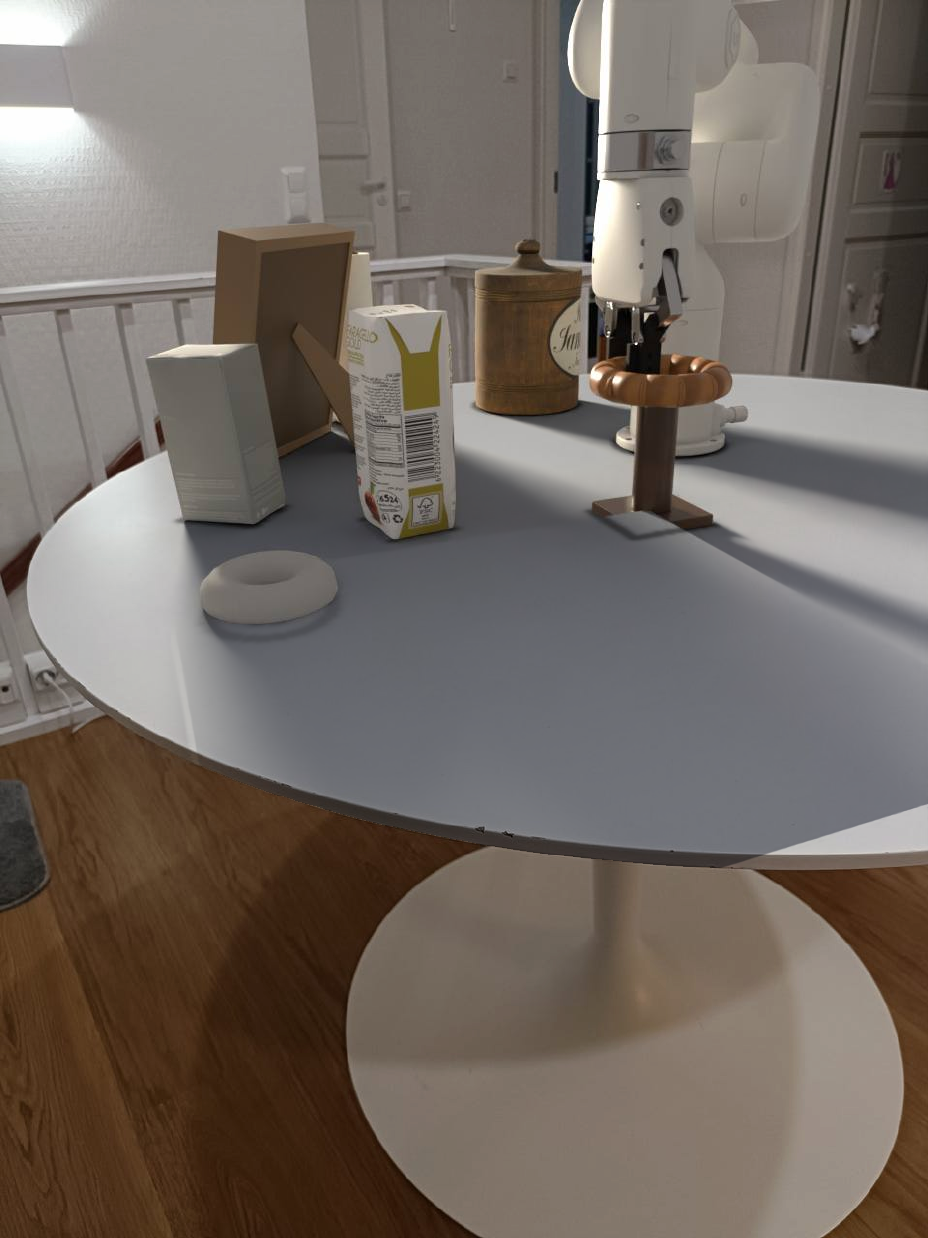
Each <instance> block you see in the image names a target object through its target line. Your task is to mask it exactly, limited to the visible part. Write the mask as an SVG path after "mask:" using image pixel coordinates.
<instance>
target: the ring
mask: <svg viewBox="0 0 928 1238" xmlns="http://www.w3.org/2000/svg"><path fill="white" fill-rule="evenodd" d="M626 359H627V356H620V357H615V358H612V359H608V360H606V359H604V360H602V361H599V362H597V363H596V364H594V366H593V367H592V369H591V371H590V374H589V383H588V385H589V388H590V391H591V392H592V393H593V395H595V396H597V397H599V398H601V399H604V400H606V401H609V402H611V403H613V404H619V405H626V406H631V405H632V406H639V407H665V408H678V407H687V406H695V405H704V404H708V403H710V402H713V401H715V402H716V401H718V400H720V399H722V398H724V397H726V396H727V395H728V394H729V393H730V391H731V390H732V388H733V383H734V382H733V381H734V380H733V375H731V372H730V371H729V369H728V367H727V366H726V365H725V364H724V363H722V362H721V361H718V362H717V361H713V360H709V359H706V358H702V357H694V356H684V355H675V354H661V363H660V375H647V374H638V373H630V372H626Z"/></svg>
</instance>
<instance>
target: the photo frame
mask: <svg viewBox="0 0 928 1238" xmlns="http://www.w3.org/2000/svg"><path fill="white" fill-rule="evenodd" d="M355 235H356V231H355V230H352V229H349V228H345V227H341V226H337V225H333V224H329V223H325V222H313V223H312V222H311V223H310V222H309V223H296V224H285V225H270V226H257V227H256V226H255V227H243V228H230V229H219V230H217V241H216V242H217V243H216V244H217V245H216V263H215V264H216V266H215V285H214V287H215V288H214V304H213V305H214V306H213V308H214V309H213V325H212V326H213V327H212V345H230V344H258V350H259V355H260V360H261V366H262V371H263V377H264V382H265V388H266V393H267V399H268V404H269V410H270V415H271V420H272V426H273V432H274V437H275V442H276V448H277V453H278V459H279V458H281V457H282V456H285V455H287V454H288V453H290V452H293V451H295V450H296V449H298V448H300V447H302V446H304V445H306V444H308V443H310V442H312V441H314V440H316V439H317V438H320V437H322V436H323V435H325V434H329V432H331V431H332V425H333V419H334V418H333V411H334V413H335V415H336V416H337V418H338V420H339V421H340V422H339V423H340V425H341V426H342V428H343V430H344V432H345V434H346V435H347V437H348V439H349V441H350V442H351V444H352V446H353V447H354V448H355V438H354V426H353V414H352V401H351V389H350V377H349V373H348V372H347V371H346V370H345V369H344V368H343V367H342V366H341V365H340V364H339V360H340V352H341V344H342V335H343V327H344V319H345V311H346V302H347V294H348V286H349V277H350V269H351V261H352V252H353V251H354V243H355Z"/></svg>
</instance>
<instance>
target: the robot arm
mask: <svg viewBox="0 0 928 1238" xmlns="http://www.w3.org/2000/svg"><path fill="white" fill-rule="evenodd" d="M775 1H779V0H580V1H579V3H578V5H577V8H576V12H575V13H574V17H573V21H572V24H571V27H570V31H569V37H568V43H567V62H568V69H569V74H570V77H571V80H572V83H573V84H574V86H575V88H576V89H577V90H578V91H579V92H580V93H581V94H582V95H583V96H585V97H587V98H589V99H593V100H599V118H598V119H599V121H598V122H599V123H598V143H597V175H596V176H597V177H596V180H597V181H599V188H598V193H597V201H596V208H595V218H594V227H593V239H592V240H593V241H592V256H591V285H592V286H591V288H592V291H593V293H594V294H595V295H594V301H595V304H596V305H597V307H598V308H599V309H600V311H601V314H602V316H603V320H604V329H603V331H604V336H605V337H606V350H605V351H606V352H605V360H608V359H612V358H615V357H620V356H627V359H626V372H630V373H638V374H647V375H660V363H661V354H675V355H684V356H694V357H702V358H706V359H709V360H713V361H717V362H719V360H720V359H719V358H720V348H721V337H722V327H723V326H722V325H723V316H724V307H725V296H726V291H725V290H726V289H725V283H724V278H723V276H722V274H721V272H720V270H719V268H718V267H717V265H716V264H715V262H714V261H713V259H712V258H711V257H710V256H709V254H708V252H707V251H706V249H705V247H704V246H705V245H709V244H717V243H718V244H719V243H720V244H721V243H766V242H776V241H780V240H783V239H785V238H786V237H788V236H790V235H791V234H792V233H793V232H794V231H795V229H796V228H797V226H798V224H799V223H800V220H801V217H802V215H803V211H804V208H805V204H806V199H807V194H808V189H809V182H810V177H811V170H812V164H813V158H814V154H815V153H814V152H815V146H816V139H817V135H818V133H817V132H818V127H819V121H820V111H821V110H820V109H821V108H820V107H821V90H820V84H819V79H818V77H817V75H816V72H815V71H814V69H812V68H811V67H810V66H809V65H806V64H804V63H801V62H795V61H783V62H770V63H768V62H767V63H758V62H759V54H760V53H759V47H758V43H757V41H756V39H755V37H754V35H753V34H752V32H751V31H750V29H749V28H748V26H747V25H746V24H745V23H744V22H743V20H742V19H741V18H740V14H739V12H738V10H736V8H735V6H738V5H747V4H758V3H767V2H775ZM748 417H749V409H748V407H747V406H745V405H737V406H730V407H727V408H726V406H725V405H724V404H720V403H716V400H715V401H713V402H710V403H708V404H704V405H695V406H687V407H679V414H678V427H677V440H676V452H675V457H690V456H691V457H692V456H700V455H705V454H710V453H713V452H717V451H718V450H721V449H722V448H723V447H724V445H725V434H724V433H723V432H722V431H721V430H720V429H721V428H722V427H725V425H726V424H738V423H744V422H746V421H747V420H748ZM636 418H637V406H632V405H630V420H629V425H627V426H623V427H621V428H620V429H618V430H617V432H616V435H615V442H616V444H617V445H618V446H619V447H621V448H622V449H624V450H627V451H630V452H634V453H635V435H636Z"/></svg>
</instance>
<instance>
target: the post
mask: <svg viewBox="0 0 928 1238" xmlns="http://www.w3.org/2000/svg"><path fill="white" fill-rule="evenodd" d="M678 414H679V407H678V408H665V407H639V406H637V418H636V435H635V452H634V454H633V469H632V470H633V474H632V486H631V487H632V489H631V495H625V496H618V497H613V498H612V497H611V498H606V499H599V500H592V501H591V512H593V513H594V514H595V515H597V516H599V517H600V518H604V517H605V518H606V517H612V516H618V515H624V514H631V513H636V512H637V513H638V512H642V511H643V512H651V513H652V514H654V515H656V516H658V517H660V518H661V519H663V520H664V521H667V522H668V523H671V524H673V525H674V526H676V527H678V528H679V529H681V530H690V529H697V528H701V527H702V528H703V527H708V526H713V522H714V514H713V513H712V512H709V511H707V510H705V509H703V508H701V507H699V506H697V505H695V504H693V503H692V502H689V501H687V500H685V499H684V498H682V497H679V496H677V495H676V494H673V489H674V477H675V465H676V456H675V452H676V440H677V427H678Z"/></svg>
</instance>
